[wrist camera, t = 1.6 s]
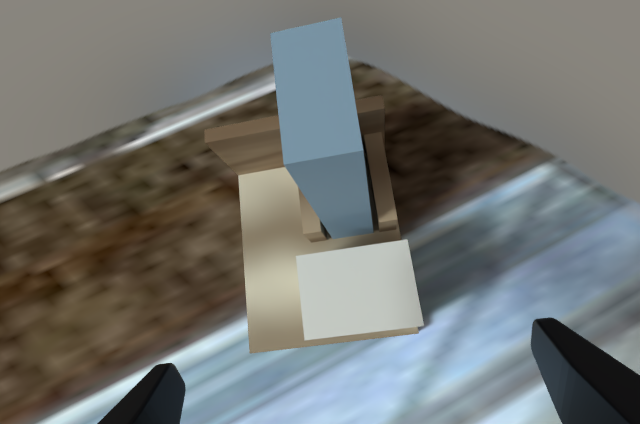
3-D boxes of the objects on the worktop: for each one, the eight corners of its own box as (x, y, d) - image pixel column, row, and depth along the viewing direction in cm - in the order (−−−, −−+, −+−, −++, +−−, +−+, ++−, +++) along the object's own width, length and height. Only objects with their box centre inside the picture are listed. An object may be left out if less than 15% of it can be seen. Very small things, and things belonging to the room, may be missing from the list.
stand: (417, 332, 22) (428, 338, 16) (255, 351, 23) (213, 363, 17) (382, 144, 25) (382, 94, 20) (243, 169, 27) (204, 129, 21)
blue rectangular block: (373, 232, 23) (363, 150, 12) (332, 239, 23) (283, 164, 12) (361, 157, 24) (340, 17, 13) (322, 164, 25) (270, 33, 13)
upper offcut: (419, 324, 19) (424, 326, 17) (312, 337, 20) (304, 340, 18) (405, 247, 20) (407, 239, 18) (304, 262, 21) (295, 255, 19)
